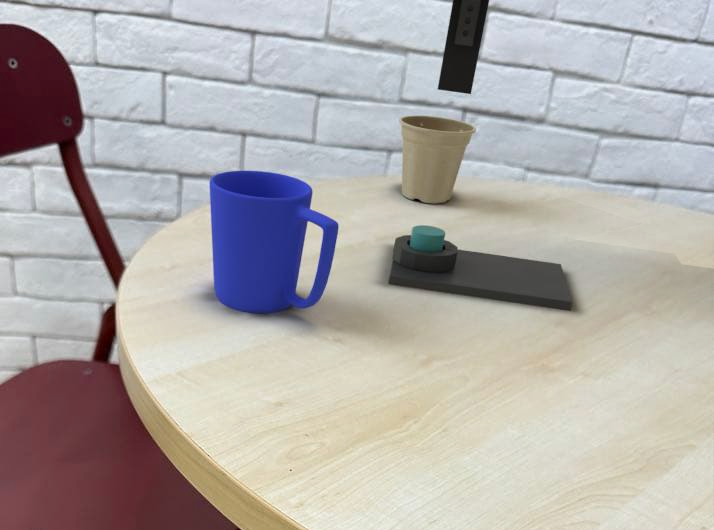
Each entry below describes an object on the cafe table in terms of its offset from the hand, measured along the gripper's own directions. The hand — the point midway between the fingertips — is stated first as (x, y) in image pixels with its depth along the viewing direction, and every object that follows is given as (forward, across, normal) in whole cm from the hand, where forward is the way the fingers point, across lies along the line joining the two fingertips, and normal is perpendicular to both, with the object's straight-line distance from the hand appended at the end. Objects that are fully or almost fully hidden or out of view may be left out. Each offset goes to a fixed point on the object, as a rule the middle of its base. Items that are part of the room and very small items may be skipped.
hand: (455, 79), depth 74 cm
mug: (+17, +16, -12) cm, 26 cm away
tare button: (+15, +1, 0) cm, 15 cm away
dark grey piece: (+17, +1, +6) cm, 18 cm away
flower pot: (+17, -29, -1) cm, 34 cm away
